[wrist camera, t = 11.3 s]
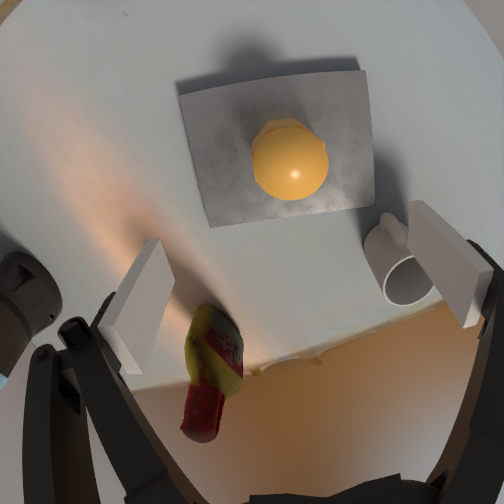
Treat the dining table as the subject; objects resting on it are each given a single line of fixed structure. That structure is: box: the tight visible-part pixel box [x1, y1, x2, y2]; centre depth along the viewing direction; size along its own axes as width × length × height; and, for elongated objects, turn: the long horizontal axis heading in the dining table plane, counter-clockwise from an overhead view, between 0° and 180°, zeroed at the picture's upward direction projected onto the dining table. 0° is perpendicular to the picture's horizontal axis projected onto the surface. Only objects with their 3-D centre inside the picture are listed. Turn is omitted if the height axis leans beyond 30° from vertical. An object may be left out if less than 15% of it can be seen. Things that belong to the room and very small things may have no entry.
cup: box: [363, 213, 435, 307], centre depth 35 cm, size 7×10×9 cm
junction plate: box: [179, 70, 375, 228], centre depth 31 cm, size 20×16×6 cm
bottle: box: [180, 305, 244, 443], centre depth 39 cm, size 12×6×20 cm, turn 19°
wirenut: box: [251, 118, 329, 200], centre depth 29 cm, size 7×7×7 cm
